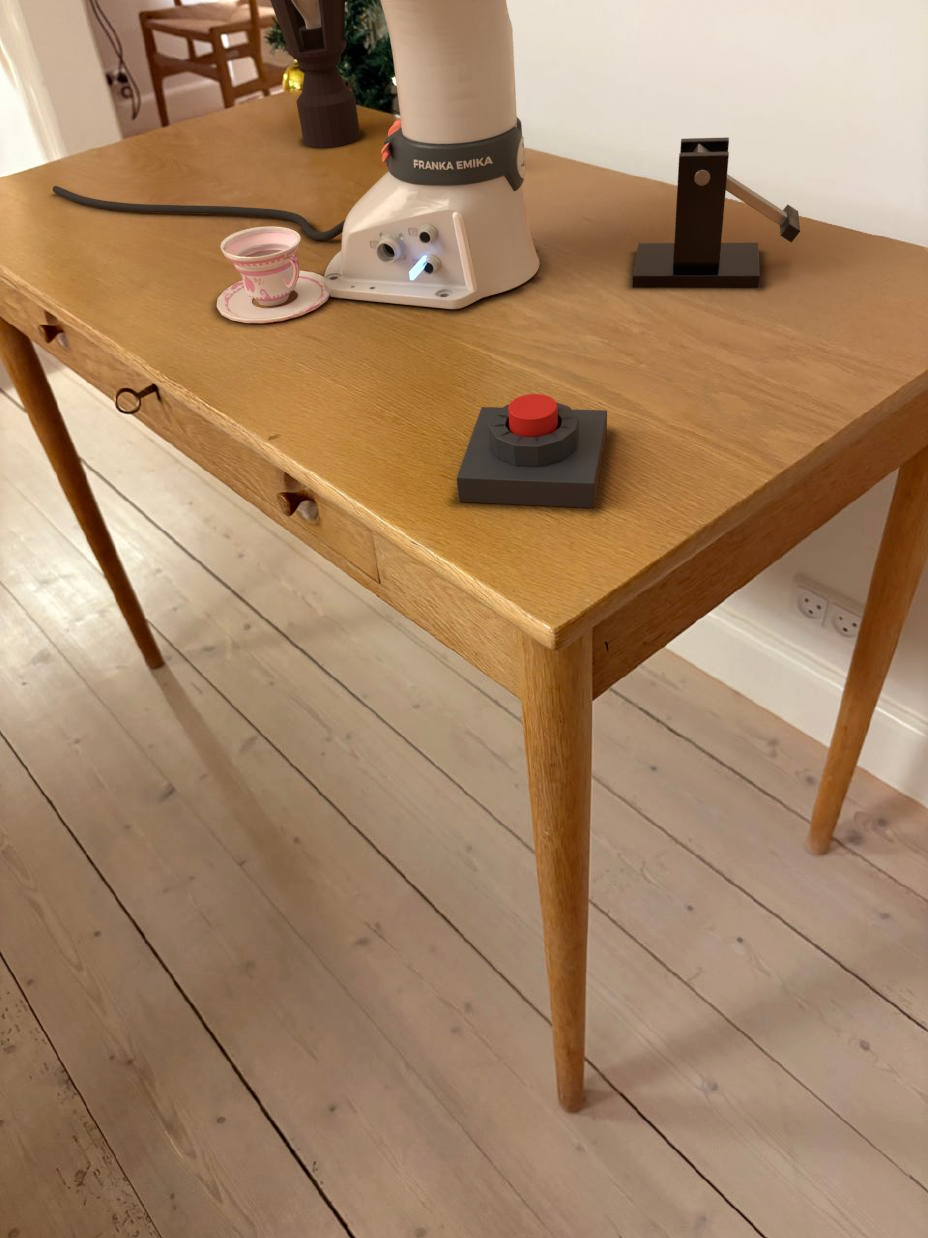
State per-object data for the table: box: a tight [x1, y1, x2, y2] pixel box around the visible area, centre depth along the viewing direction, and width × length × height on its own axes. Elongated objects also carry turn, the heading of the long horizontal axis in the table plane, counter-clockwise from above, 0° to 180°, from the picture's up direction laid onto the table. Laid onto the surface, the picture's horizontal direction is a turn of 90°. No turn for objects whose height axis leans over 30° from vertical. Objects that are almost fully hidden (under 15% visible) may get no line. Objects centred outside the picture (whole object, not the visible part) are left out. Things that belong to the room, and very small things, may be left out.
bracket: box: [631, 137, 761, 289], centre depth 97 cm, size 12×8×12 cm, turn 79°
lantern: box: [269, 0, 361, 149], centre depth 134 cm, size 15×15×30 cm
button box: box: [456, 401, 608, 509], centre depth 76 cm, size 10×10×4 cm
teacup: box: [216, 225, 331, 324], centre depth 103 cm, size 12×12×6 cm
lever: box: [693, 144, 801, 243], centre depth 95 cm, size 12×5×2 cm
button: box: [508, 393, 558, 437], centre depth 74 cm, size 4×4×2 cm
